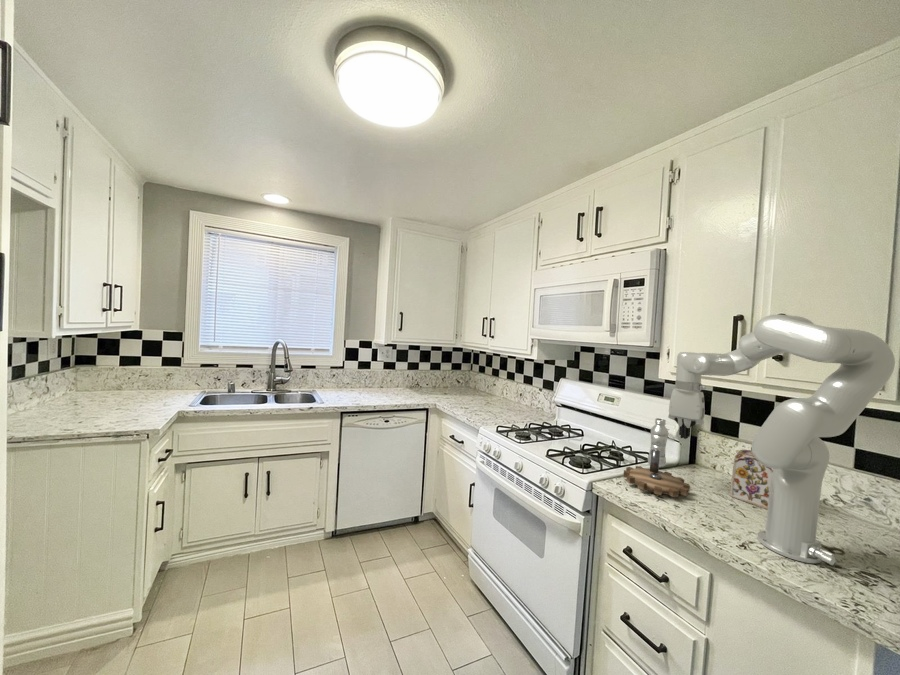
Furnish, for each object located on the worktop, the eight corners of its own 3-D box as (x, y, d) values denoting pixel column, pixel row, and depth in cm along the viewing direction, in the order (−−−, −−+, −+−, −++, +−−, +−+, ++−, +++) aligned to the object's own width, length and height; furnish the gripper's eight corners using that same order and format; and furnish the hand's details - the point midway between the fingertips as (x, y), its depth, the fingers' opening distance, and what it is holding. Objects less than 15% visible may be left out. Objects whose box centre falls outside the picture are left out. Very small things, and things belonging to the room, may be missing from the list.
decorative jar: (772, 512, 115) (778, 457, 114) (728, 496, 124) (733, 446, 124) (782, 503, 122) (787, 452, 121) (739, 489, 131) (744, 441, 131)
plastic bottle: (644, 462, 153) (648, 416, 152) (661, 464, 152) (665, 418, 151) (650, 468, 147) (655, 420, 146) (668, 470, 146) (672, 422, 145)
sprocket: (694, 503, 114) (697, 472, 114) (623, 486, 123) (626, 458, 123) (683, 479, 133) (686, 453, 133) (623, 467, 142) (625, 442, 141)
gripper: (715, 389, 123) (712, 441, 123) (667, 383, 135) (664, 431, 135) (710, 390, 118) (706, 445, 118) (660, 384, 130) (657, 434, 130)
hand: (684, 437), depth 127 cm, fingers closed
